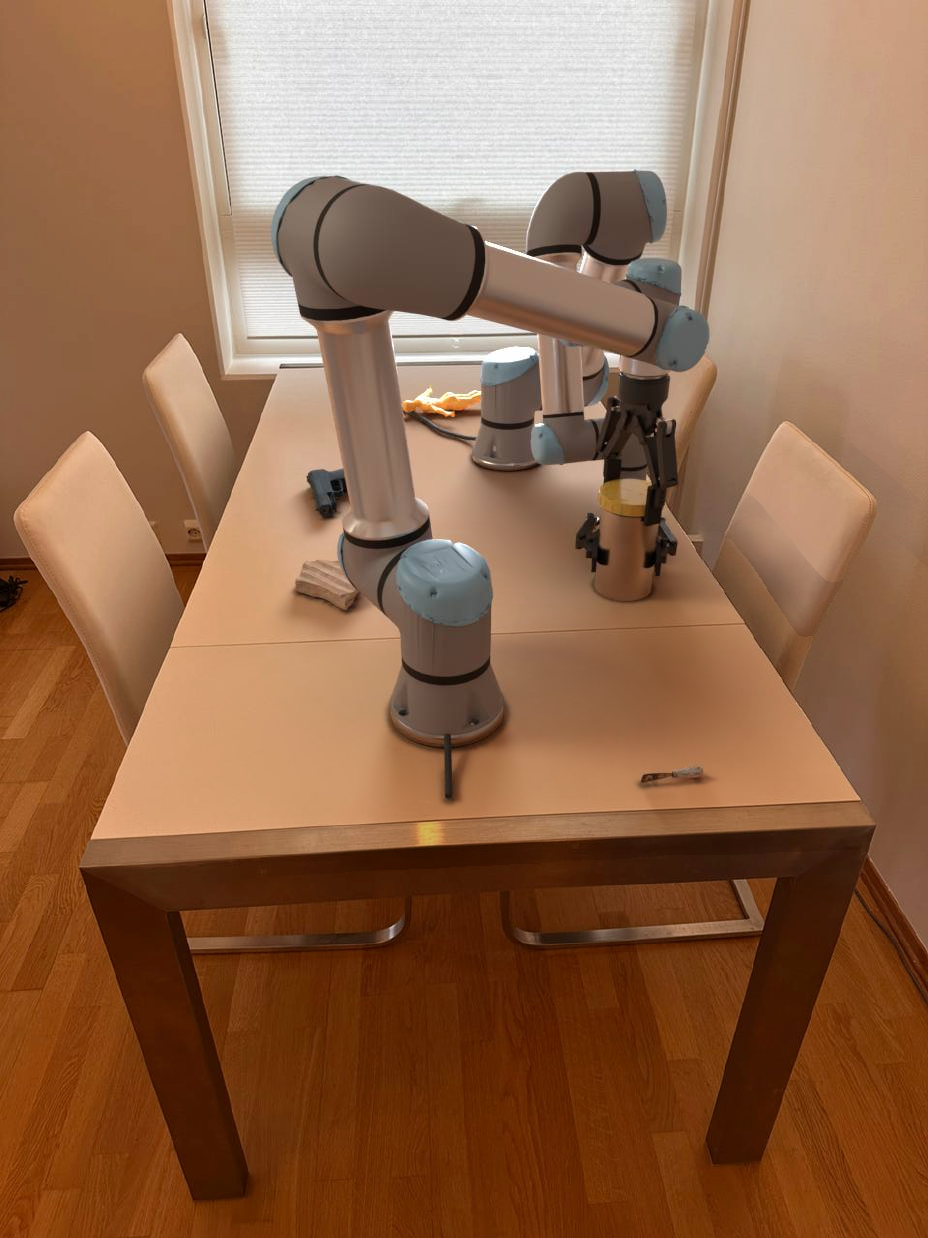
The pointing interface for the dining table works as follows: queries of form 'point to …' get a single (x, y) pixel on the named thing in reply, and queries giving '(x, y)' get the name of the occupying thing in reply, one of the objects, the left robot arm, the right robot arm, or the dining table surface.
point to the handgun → (326, 489)
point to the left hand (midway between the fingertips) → (630, 510)
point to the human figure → (442, 402)
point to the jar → (625, 556)
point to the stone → (326, 583)
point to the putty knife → (674, 774)
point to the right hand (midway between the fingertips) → (626, 566)
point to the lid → (624, 496)
